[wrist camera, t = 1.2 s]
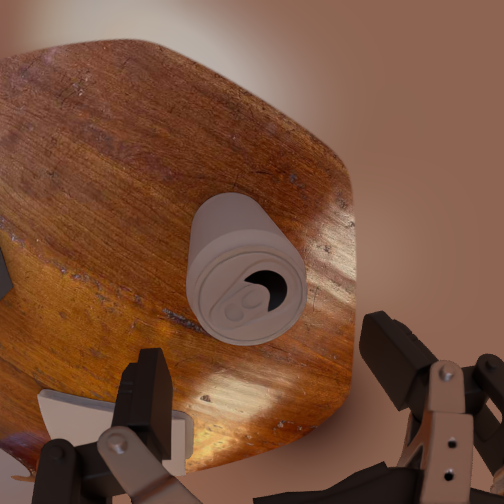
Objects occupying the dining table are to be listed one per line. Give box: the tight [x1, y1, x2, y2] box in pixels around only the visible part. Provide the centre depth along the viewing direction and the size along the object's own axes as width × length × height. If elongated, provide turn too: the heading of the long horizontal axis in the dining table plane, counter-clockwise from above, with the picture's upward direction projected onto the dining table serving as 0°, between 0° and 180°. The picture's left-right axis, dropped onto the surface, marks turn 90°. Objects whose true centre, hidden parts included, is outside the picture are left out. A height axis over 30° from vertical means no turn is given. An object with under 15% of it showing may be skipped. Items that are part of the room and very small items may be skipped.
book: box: [37, 389, 194, 476], centre depth 31 cm, size 15×23×4 cm, turn 80°
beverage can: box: [186, 193, 307, 346], centre depth 19 cm, size 6×6×12 cm
